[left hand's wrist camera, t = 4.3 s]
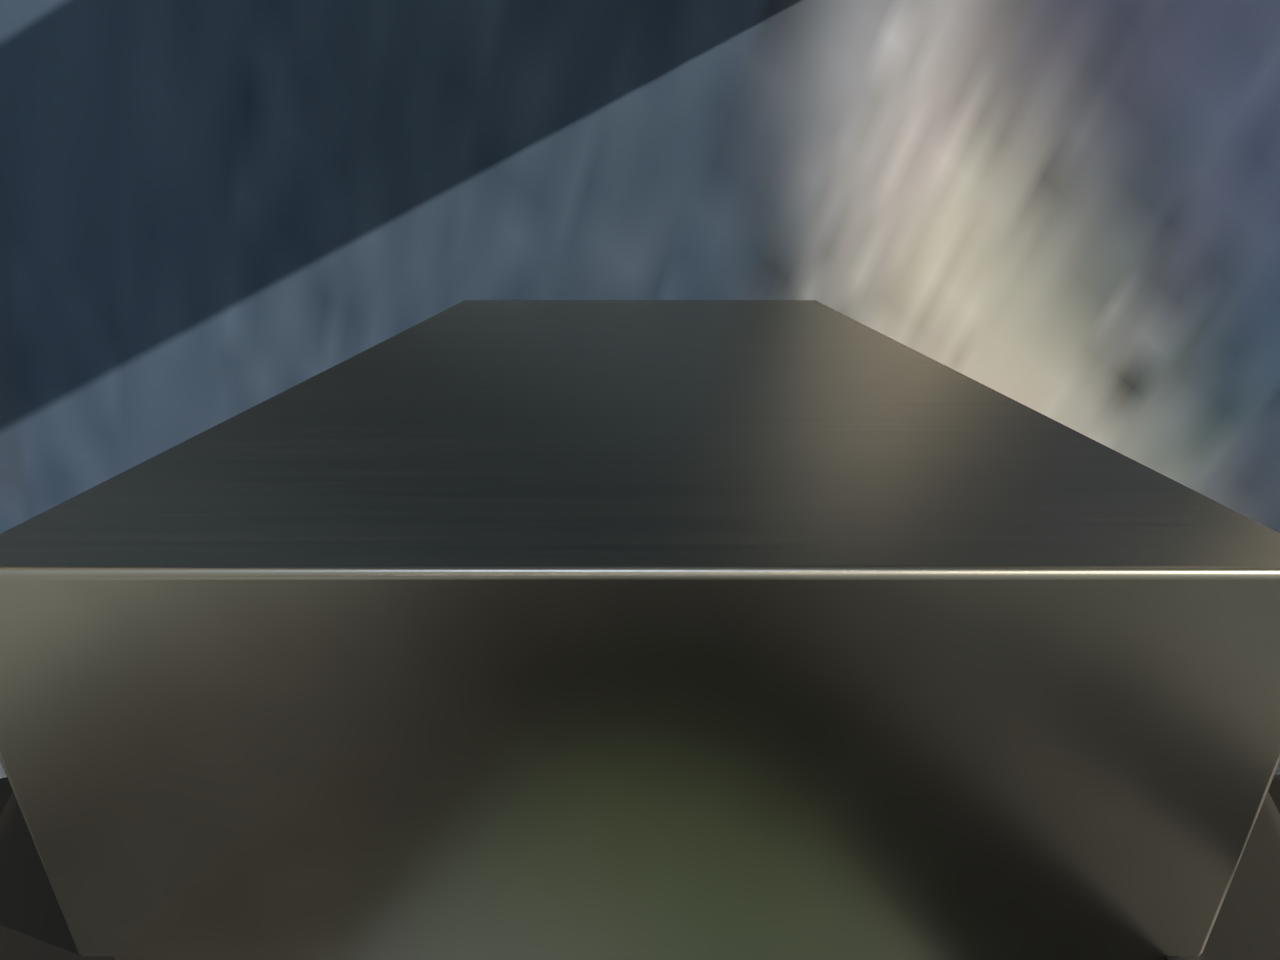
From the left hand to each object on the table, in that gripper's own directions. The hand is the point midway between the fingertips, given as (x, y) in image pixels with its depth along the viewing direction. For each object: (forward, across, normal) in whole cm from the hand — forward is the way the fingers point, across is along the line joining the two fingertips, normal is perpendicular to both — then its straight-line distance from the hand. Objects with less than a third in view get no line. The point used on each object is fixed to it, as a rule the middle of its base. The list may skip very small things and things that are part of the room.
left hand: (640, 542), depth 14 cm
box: (+4, 0, -7) cm, 8 cm away
